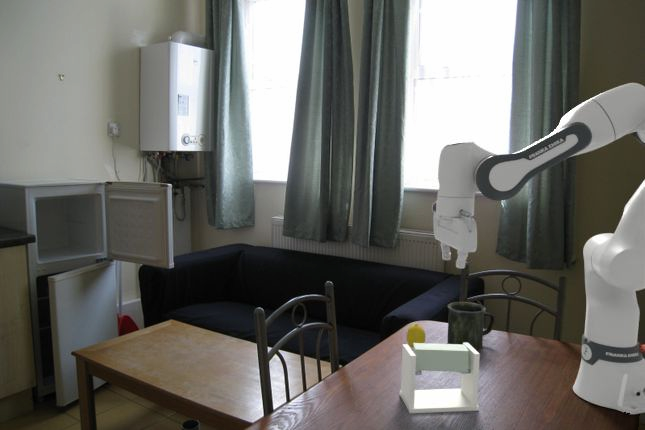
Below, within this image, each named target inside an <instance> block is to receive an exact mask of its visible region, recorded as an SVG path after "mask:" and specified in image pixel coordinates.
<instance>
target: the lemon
mask: <svg viewBox="0 0 645 430" xmlns="http://www.w3.org/2000/svg"><path fill="white" fill-rule="evenodd" d="M406 342H407V343H406V344H408V345H409V347H410V348H411V349H413V343H426V331H425V330H424V327H422V326H421V325H419V324H418V323H415V324H413V325H410V326H409V327H408V329H407V332H406Z"/></svg>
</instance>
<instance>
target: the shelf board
mask: <svg viewBox="0 0 645 430" xmlns="http://www.w3.org/2000/svg"><path fill="white" fill-rule="evenodd" d="M412 351H413V352H414V354H415V355H416V371H423V372H424V371H429V372H450V373H451V372H455V373H461V372H468V355H469V351H468V349H467V347H466V346H465V345H463V344H448V343H428V342H427V343H426V342H425V343H413V348H412Z"/></svg>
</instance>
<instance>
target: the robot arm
mask: <svg viewBox="0 0 645 430" xmlns="http://www.w3.org/2000/svg"><path fill="white" fill-rule="evenodd" d="M626 135H632V136H633V137H634V138H635V139H636V140H637V141H638V142H639V143H640V144H642V145H643V146H645V86H644V85H643V84H640V83H637V82H629V83H625V84H622V85H619V86H616V87H613V88H611V89H608V90H606V91H604V92H602V93H599V94H597V95H595V96H593V97H591V98H588V99H587V100H585V101H583V102H582V103H580V104H578V105H577V106H575V107H574V108H572V109H571V110H570V111H568V112H567V113H566V114H565V115H563V116H562V117H561V119H560V121H559V124H558V126H557V127H556V128H555V129H554V130H553V131H552V132H551V133H550V134H548V135H546V136H544V137H543V138H540V139H539V140H538V141H535V142H534V143H532V144H530V145H528V146H526V147H525V148H523V149H521V150H519V151H516V152H514V153H513V152H512V153H505V154H497V153H493V152H491V151H489V150H486V149H484V148H482V147H481V146H479V145H478V144H476V143H475V142H474V141H472V140H465V141H457V142H453V143H449V144H447V145H445V146H444V147H443V148H442V149H441V151H440V154H439V159H438V172H437V180H438V185H439V187H438V191H437V198H436V201H435V202H433V203H432V205H431V211H432V213H433V216H432V217H433V222H432V223H433V225H432V227H433V236H434V238H435V240H437V241H439V242H440V248H441V253H442V254H441V255H442V256H441V258H442V260H443V261H451V259H452V253H451V248H453V249H455V250H456V252H457V253H456V254H457V259H456V260H455V267H456V268H457V269H465V268H466V261H467V259H468V256H469V253H476V251H477V248H478V228H477V222H476V220H475V219H474V218H473V217H474V216H475V200H476V199H475V198H476V197H475V196H476V193H481V194H482V195H483V196H484V197H486V199H489V200H492V201H496V202H498V201H499V202H501V201H507V200H509V199H513V197H515V196H516V195H517V194H519V193H520V191H522V189H523V188H524V187H525V186H526V184H527V183H528V182H529V181H530V180H531V179H533V178H534V177H535V176H537V175H538V174H540V173H542V172H545V171H546V170H548V169H550V168H551V167H554V166H555V165H557V164H559V163H561V162H563V161H565V160H567V159H569V158H570V157H571V158H572V157H575V156H579V155H582V154H586V153H589V152H593V151H595V150H597V149H599V148H602V147H605V146H607V145H609V144H611V143H612V142H614V141H617V140H619V139H621V138H623V137H624V136H626ZM582 252H583V253H582V255H583V262H584V263H583V264H584V266H583V267H584V285H585V286H584V287H585V295H586V296H585V297H586V308H585V309H586V310H585V323H584V333H583V334H582V336H581V337H582V338H581V347H580V352H581V353H580V354H581V361H580V365H579V369H578V373H577V375H576V379H575V382H574V384H573V386H572V390H573V392H574V393H575V394H576V395H577V396H578V397H579V398H581V399H583V400H585V401H587V402H588V403H590V404H594V405H597V406H600V407H605V408H608V409H613V410H617V411H620V412H622V413H624V412H626V413H625V414H627V413H630V414H629V415H639V414H643V413H645V358H644V356H643V353H644V354H645V344H641V342H639V341H638V334H639V322H640V315H641V313H640V311H641V310H640V307H639V304H638V299H637V293H636V292H637V291H641V290H645V179H644V180H643V181H642V182H641V184H640V185H639V187H638V188H637V189H636V190H635V192H634V193H633V195H632V196H631V198H629V200H628V202H627V203H626V204H625V206H624V208H623V213H622V216H621V218H620V220H619V223H618V225H617V227H616V229H615V231H614V233H611V232H607V233H598V234H596V235H594V236H592V237H590V238H589V239H588V240H587V241H586V242H585V244H584V246H583V251H582Z"/></svg>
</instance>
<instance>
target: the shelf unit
mask: <svg viewBox="0 0 645 430" xmlns="http://www.w3.org/2000/svg"><path fill="white" fill-rule="evenodd" d="M463 345H465V346H466V347H467V349H468V351H469V355H468V372H460V373H461V378H460V379H461V380H460V388H437V389H434V388H433V389H416V376H422V375H423V372H422V371H420V370H416V355H415V354H414V352H413V349H412V347H410V346H409V344H408V343H406V344H404V343H403V344H402V352H401V354H402V355H401V379H400V380H401V382H400V383H401V385H400V390H399V396H400V398H401V400H402V401H403V403H404V404H405V407H406V408H407V411H408V412H409V414H424V413H426V414H427V413H431V414H432V413H446V412H447V413H448V412H450V413H451V412H474V411H480V406H479V405H478V394H479V376H480V375H479V374H480V372H479V371H480V357H481V353H479V352H478V351H477V349H476V350H475V349H474V348H473V347H472V346H471V345H470V344H469V343H463Z"/></svg>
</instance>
